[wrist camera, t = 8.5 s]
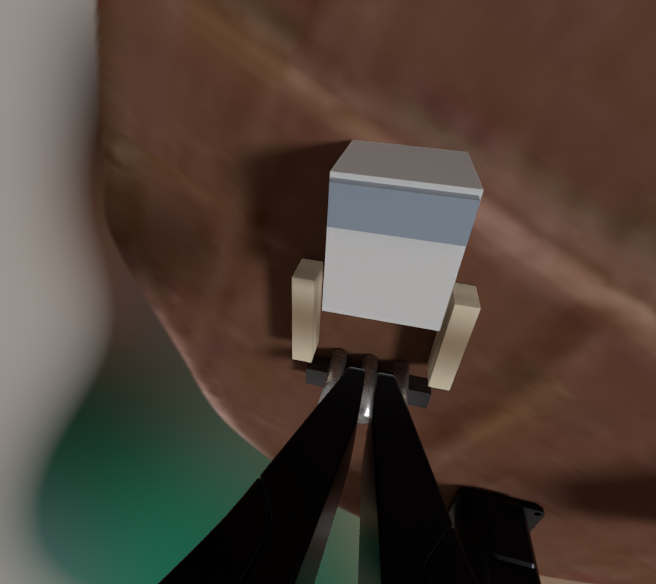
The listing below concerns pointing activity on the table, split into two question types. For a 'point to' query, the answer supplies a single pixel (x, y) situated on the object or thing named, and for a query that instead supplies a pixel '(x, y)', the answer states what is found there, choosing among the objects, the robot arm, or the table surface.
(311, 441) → the robot arm
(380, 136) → the table surface
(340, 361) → the silver rod block
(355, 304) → the plug block
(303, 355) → the guide rails
